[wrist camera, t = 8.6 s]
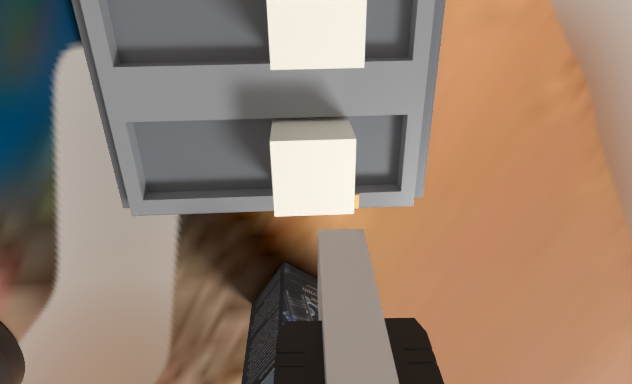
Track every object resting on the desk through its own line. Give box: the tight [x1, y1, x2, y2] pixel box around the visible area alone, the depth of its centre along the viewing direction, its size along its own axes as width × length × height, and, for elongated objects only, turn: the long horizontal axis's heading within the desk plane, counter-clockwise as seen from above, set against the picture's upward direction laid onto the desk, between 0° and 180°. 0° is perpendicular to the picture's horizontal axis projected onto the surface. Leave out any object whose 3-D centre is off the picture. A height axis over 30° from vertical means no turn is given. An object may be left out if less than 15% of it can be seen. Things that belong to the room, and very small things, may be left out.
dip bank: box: [72, 0, 445, 216], centre depth 28 cm, size 22×17×3 cm
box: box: [242, 262, 319, 384], centre depth 33 cm, size 8×6×11 cm
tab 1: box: [266, 0, 367, 70], centre depth 24 cm, size 5×5×4 cm
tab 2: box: [270, 116, 356, 217], centre depth 28 cm, size 5×5×4 cm
